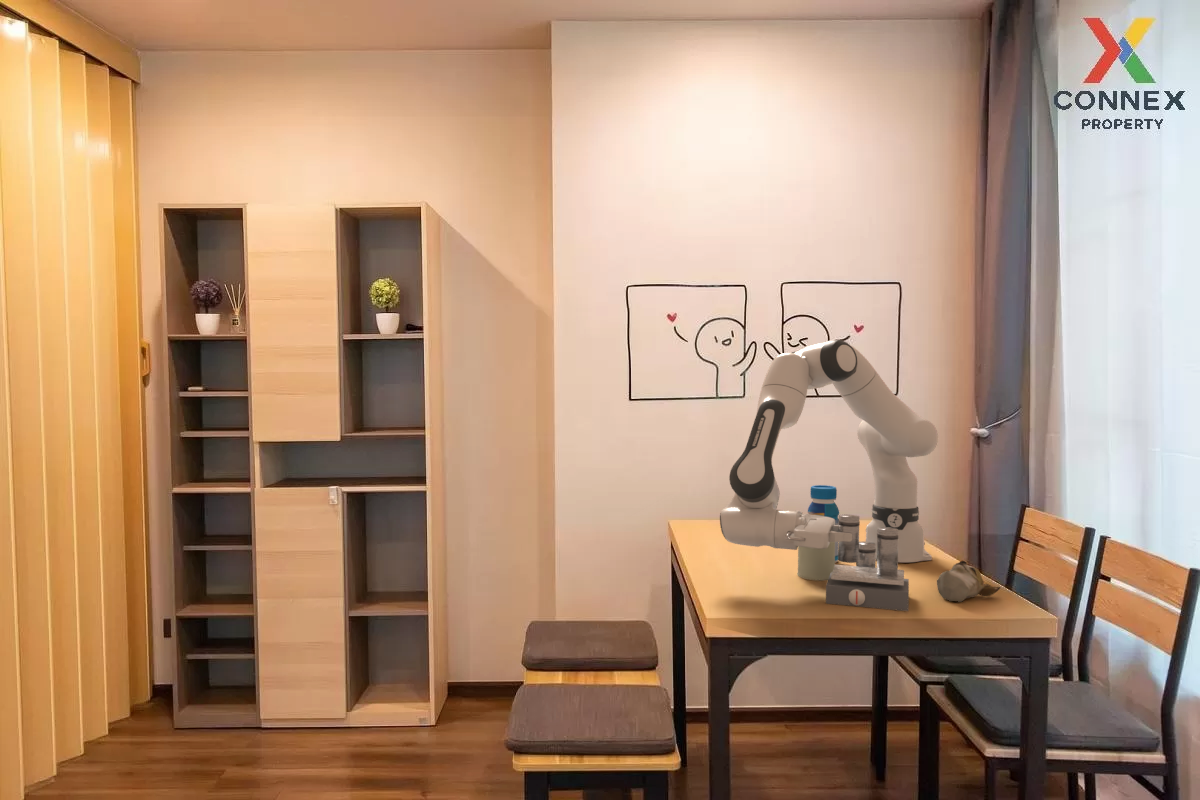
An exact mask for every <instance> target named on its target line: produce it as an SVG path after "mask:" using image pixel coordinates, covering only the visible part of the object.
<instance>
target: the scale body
mask: <svg viewBox="0 0 1200 800" xmlns="http://www.w3.org/2000/svg"><path fill="white" fill-rule="evenodd" d="M831 574H832V573H830V576H829V579H828V580H826V581H827V582H826V585H825V604H827V605H828V604H830V605H839V606H840V605H842V606H849V607H850V606H851V607H861V608H872V609H879V610H880V609H882V610H893V611H902V612H903V611H904V612H909V604H910V603H909V595H910V594H909V591H910V589H909V588H910V587H909V586H910V585H909V584H910V581H909V578H904V585H892V584H881V583H869V582H858V581H846V580H835V579H831Z"/></svg>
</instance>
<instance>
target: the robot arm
mask: <svg viewBox="0 0 1200 800" xmlns="http://www.w3.org/2000/svg"><path fill="white" fill-rule="evenodd" d="M829 385H832V386H834V388H835V389H836V391H837V393H839V394H840V397H842V399H843V400H844V401H845V403H846V404H847V406H848V407H849V408H850V410H851V411H852V412H853V414H854V415H855V416H856V417H858V419H860V420H861V422H860V423H859V424H858V428H857V439H858V441H859V443H860V444H861V446H863V448H864V449H865V451H866V453H867V456H868V459H869V462H870V466H871V469H872V476H873V498H874V499H873V502H874V503H873V504H872V505H871V506H872V508H871V513H872V514H871V518H872V520H871V521H870V522H869V523H867V525H866V528H865V533H866V534H865V542H873V543H875V544H876V560H877V528H879V527H891V528H896V529H898V563H916V562H917V563H918V562H923V561H932V560H933V556H932V555H931V554H930V553H929V552H928V551H927V550H926V549H925V545H926V542H925V529H924V528H923V526H922V525H921V524H920V523H919V519H920V518H919V515H920V511H919V506H918V479H917V476H916V474H915V472H913V471H912V469H911V468H910V466H909V464H908V461H907V458H919V457H925V456H928V455H930V454H931V453H932V452H933V451H935V448H936V447H937V446H938V445H937V444H938V442H939V434H938V433H939V432H938V430H937V428H936V427H937V426H935V425H934V423H932V422H931V421H930V420H928V419H925V418H924V417H922V416H921V415H919V414H918V413H917V412H915V411H914V410H913V409H911V408H910V407H909V406H908V405H907V404H906V403H905V402H903V401H902V400H901V398H899V397H898V396H897V395H896V394H895V393H894V392H893V391H892V390H891V389H890V388H889V387H888V385H887V384H886V383H885V381H884V380H883V378H882V377H881V376H880V374H879V373H878V372H877V371H876V369H875V368H874V366H873V365H872V364H871V362H869V360H868V359H867V358H866V357H865V356H864V355H863V354H862V352H860V351H859V350H858V349H856V347H854V346H853V345H851V344H850V343H848V342H847V341H844V340H842V339H840V340H839V339H830V340H828V341H825V342H819V343H816V344H811V345H808V346H806V347H804V348H801V349H799V350H797V351H792V352H784V353H783V352H782V353H781V354H778V355H777V356H775V357H774V359H773V360H772V361H771V363H770V365H769V367H768V370H767V373H766V375H765V377H764V380H763V382H762V386H761V390H760V393H759V397H758V402H757V409H756V415H755V418H754V421H753V424H752V427H751V431H750V434H749V436H748V439H747V443H746V446H745V448H744V450H743V452H742V454H741V455H740V456H739V458H738V459H737V460H736V461H735V462H734V464H733V465H732V467H731V468H730V473H729V477H728V478H729V485H730V487H731V489H732V490H733V492H734V495H733V496H732V498H731V499H730V501H729V502H728V504H726V506H725V507H723V509H721V510H720V513H719V524H720V525H719V526H720V531H721V534H722V536H723V537H724V539H725V540H726V541H727V542H729V543H731V544H734V545H740V546H747V547H755V548H756V547H757V548H758V547H763V546H765V547H766V546H768V547H770V548H773V549H782V550H793V551H798V546H800V547H808V548H816V549H826V548H828V546H829V543H830V542H841V541H848V542H850V541H852V533H851V532H844V533H843V532H839V525H835V519H833V518H830V517H825V516H819V515H811V514H808V513H803V512H802V510H788V509H787V510H785V509H777V508H778V504H779V500H780V495H781V494H780V489H779V485H778V482H777V479H776V477H775V472H774V467H773V455H774V452H775V448H776V446H777V442H778V439H779V435H780V432H781V431H782V430H783V429H784V430H785V429H789V428H792V427H793V426H795V425H797V423H798V421H799V420H800V418H801V415H802V413H803V410H804V407H805V403H806V398H807V394H808V390H814V389H820V388H824V387H826V386H829Z"/></svg>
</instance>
